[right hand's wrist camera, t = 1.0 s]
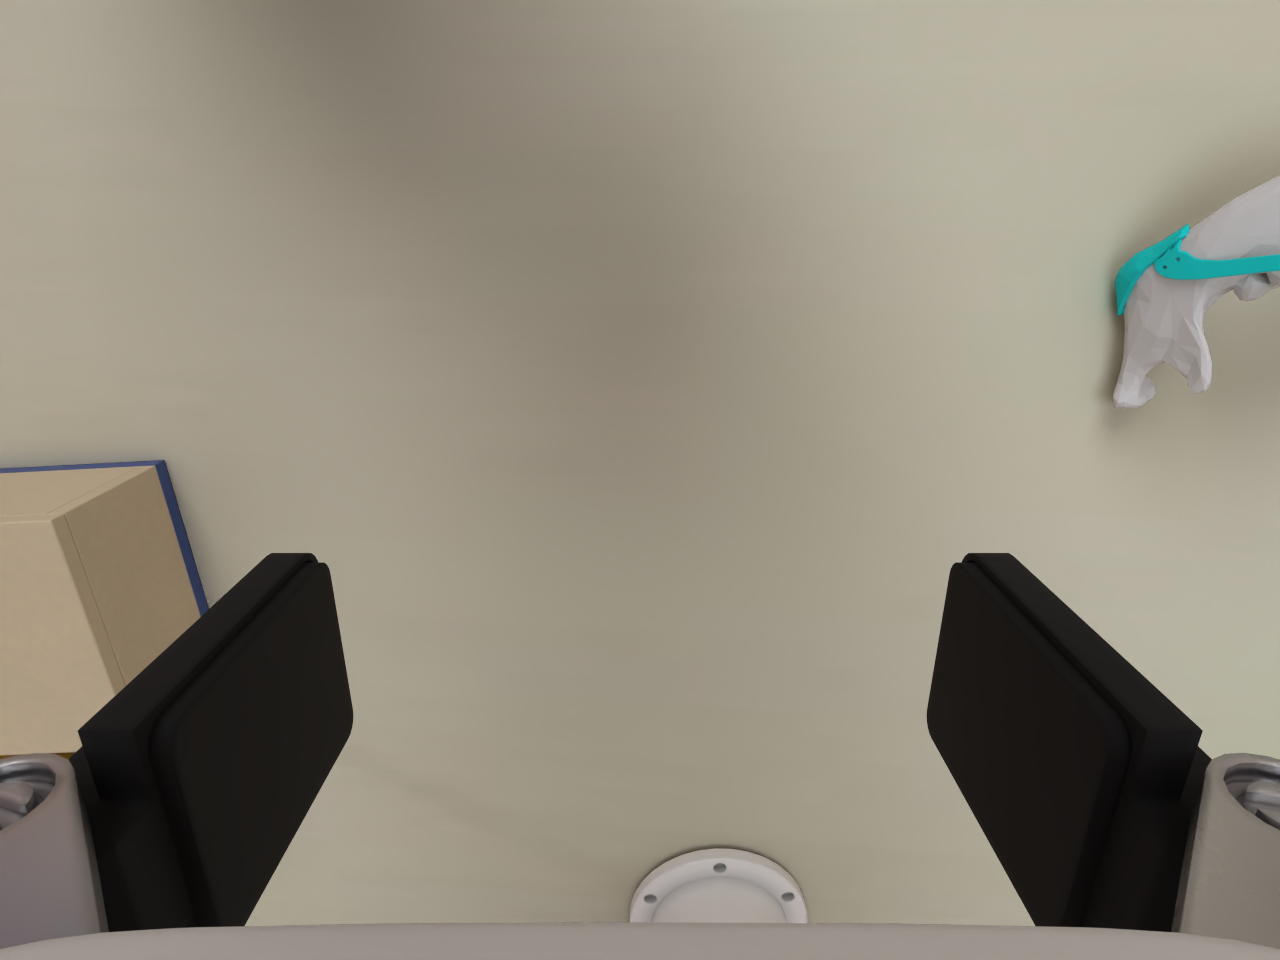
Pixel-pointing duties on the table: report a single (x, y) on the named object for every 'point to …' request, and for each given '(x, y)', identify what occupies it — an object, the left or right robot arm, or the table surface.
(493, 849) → the table surface
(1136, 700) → the right robot arm
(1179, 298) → the anatomical model
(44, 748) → the cabinet
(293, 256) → the table surface
